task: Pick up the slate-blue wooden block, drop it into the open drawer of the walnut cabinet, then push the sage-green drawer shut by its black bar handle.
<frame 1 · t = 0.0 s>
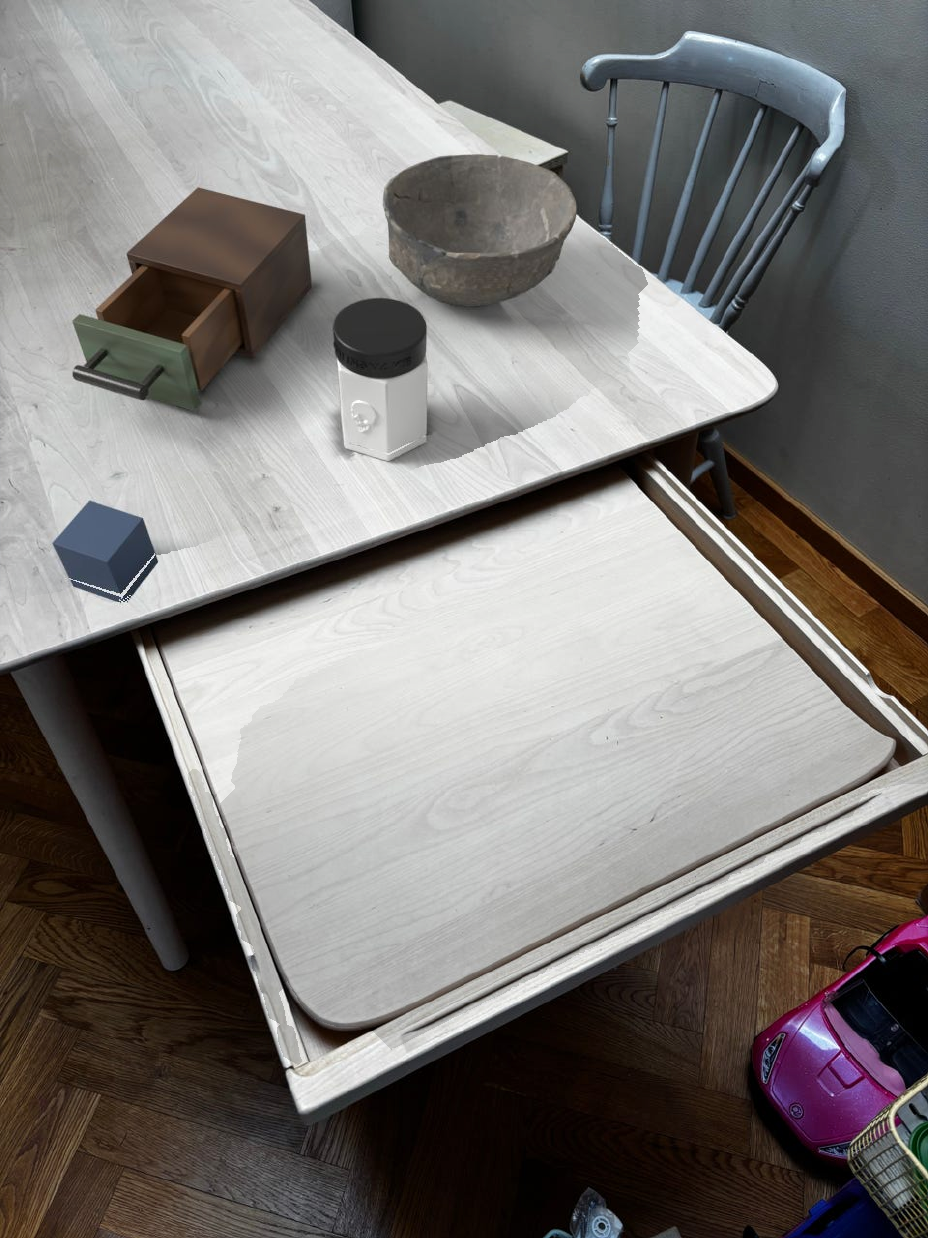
drawer: (158, 341, 88), point 4 cm above the table, slide at 9.0 cm
cabinet: (231, 307, 99), on the table
block: (116, 574, 76), on the table
jar: (383, 431, 88), on the table
bowl: (474, 285, 103), on the table
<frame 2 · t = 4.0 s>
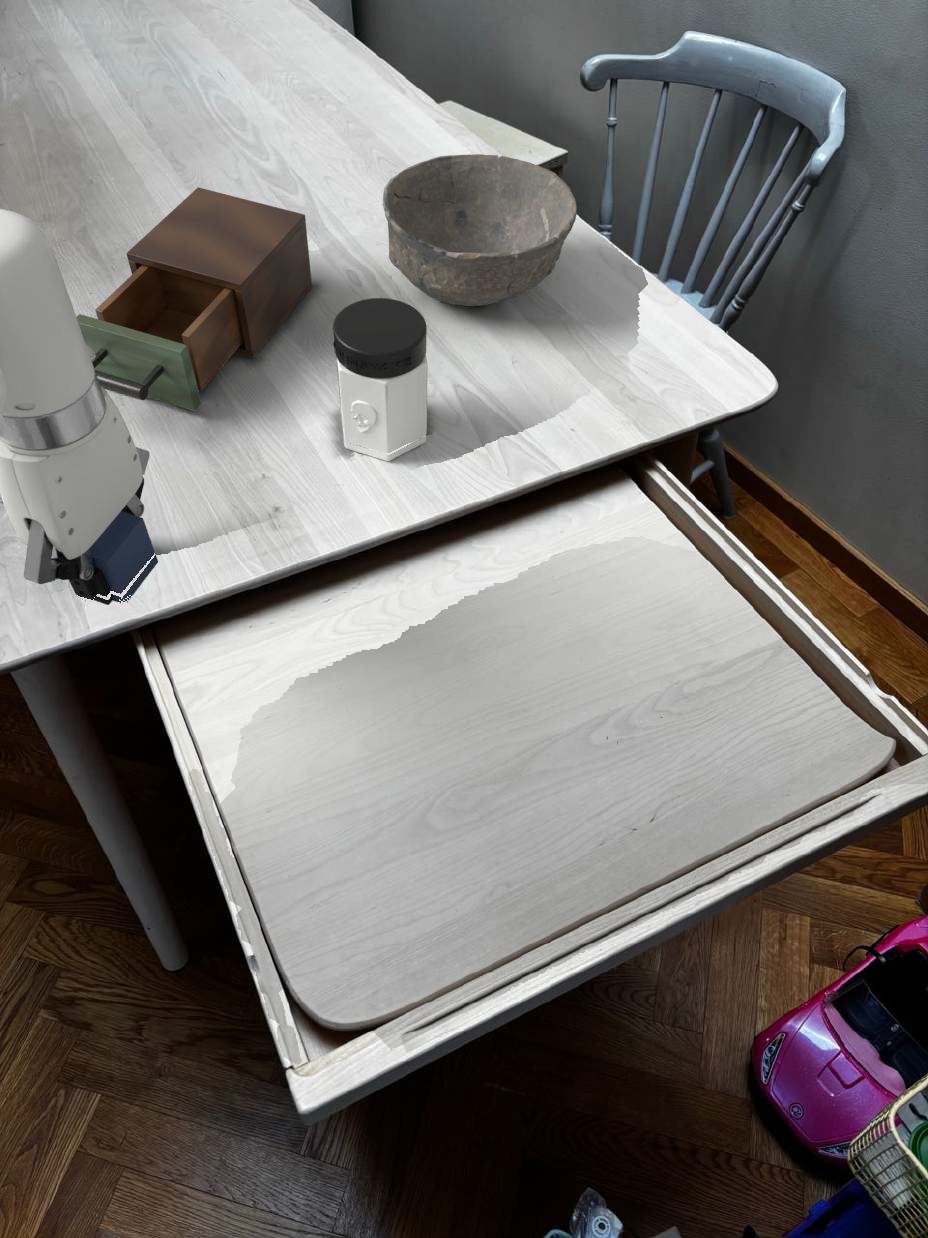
hand: (115, 570, 76), 0 cm above the table, tool pointing down, fingers closed on block, 5 cm apart
block: (116, 574, 76), on the table, touching gripper
everything else where it was.
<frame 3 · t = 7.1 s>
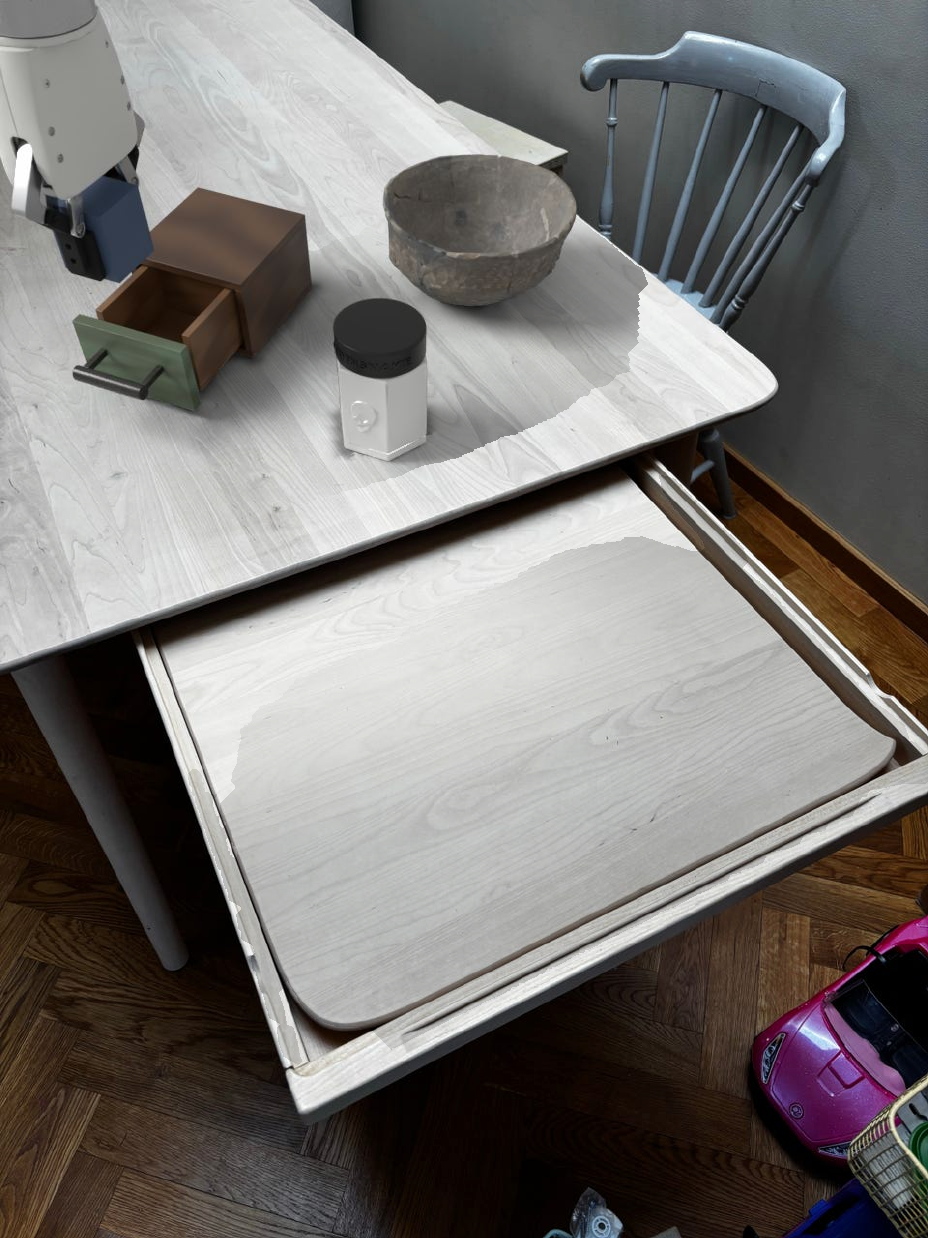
hand: (108, 253, 73), 18 cm above the table, tool pointing down, fingers closed on block, 5 cm apart
block: (110, 259, 73), point 17 cm above the table, touching gripper
everything else where it was.
when the fingers open (7 cm above the table, at t = 10.4 s): block drops 5 cm, resting on drawer.
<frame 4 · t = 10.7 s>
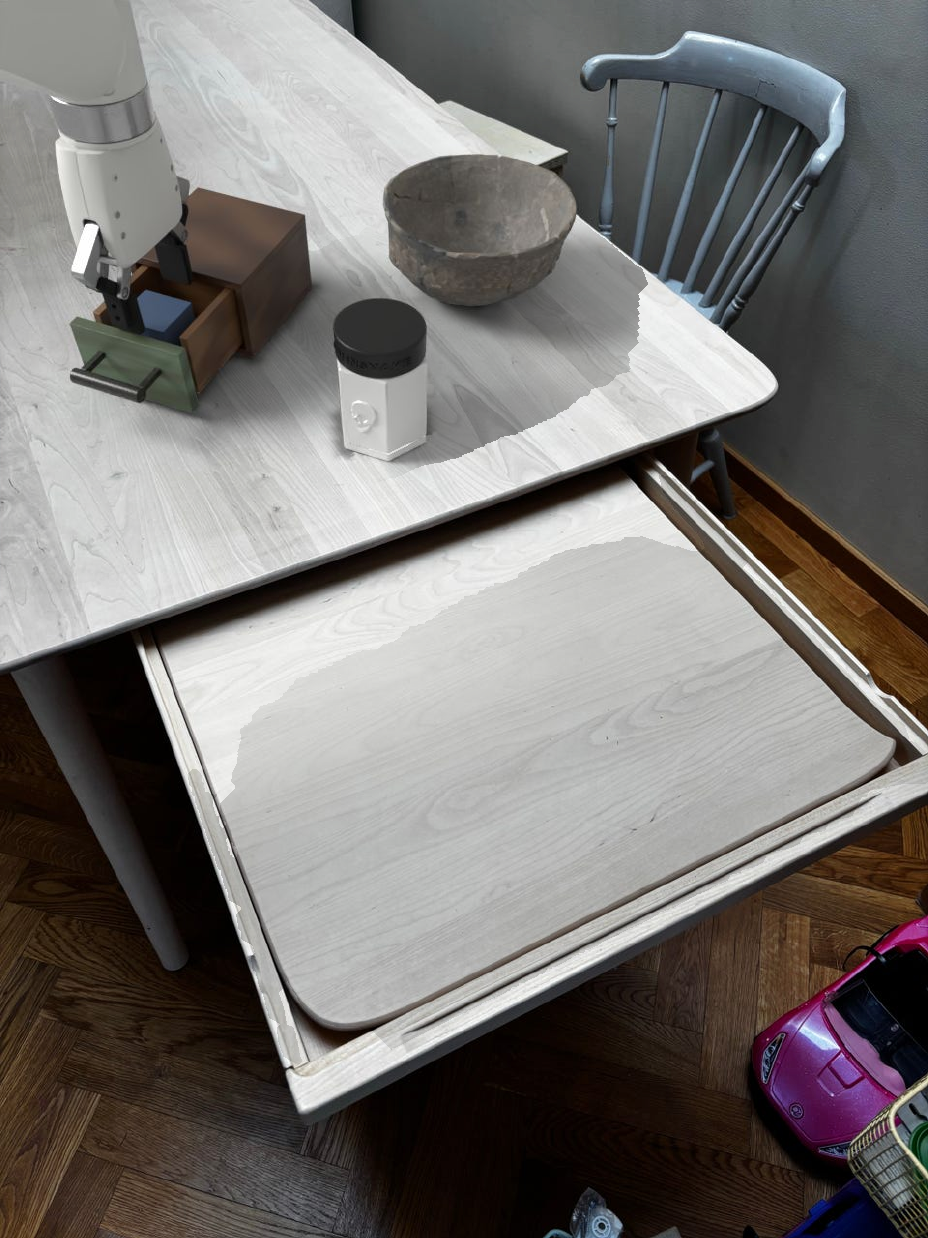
hand: (154, 303, 85), 8 cm above the table, tool pointing down, fingers open, 7 cm apart
drawer: (156, 344, 88), point 4 cm above the table, slide at 9.4 cm, touching block
block: (167, 358, 90), point 2 cm above the table, touching drawer
everything else where it was.
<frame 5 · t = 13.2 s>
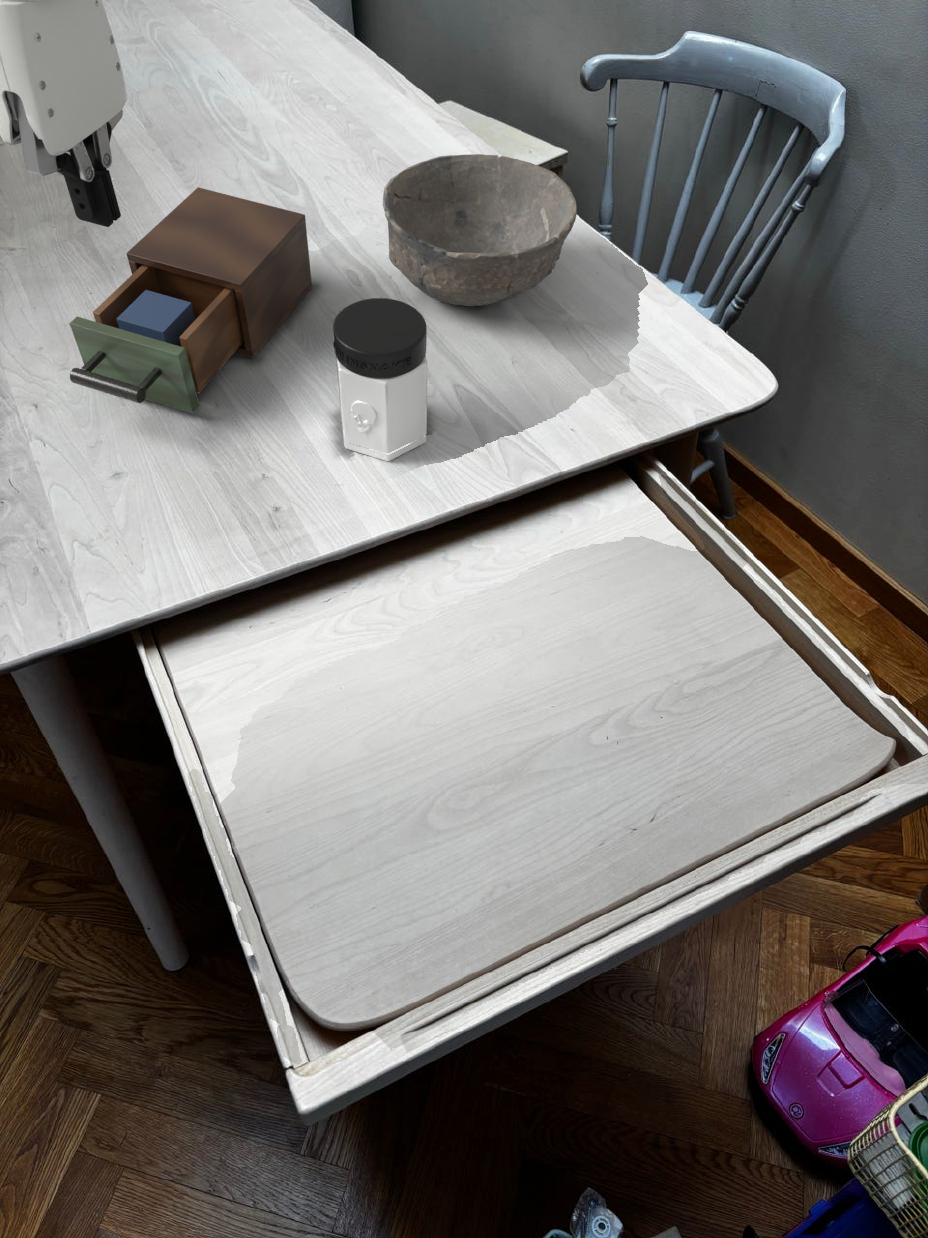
hand: (99, 218, 75), 19 cm above the table, tool pointing down, fingers closed
nothing on the table moved.
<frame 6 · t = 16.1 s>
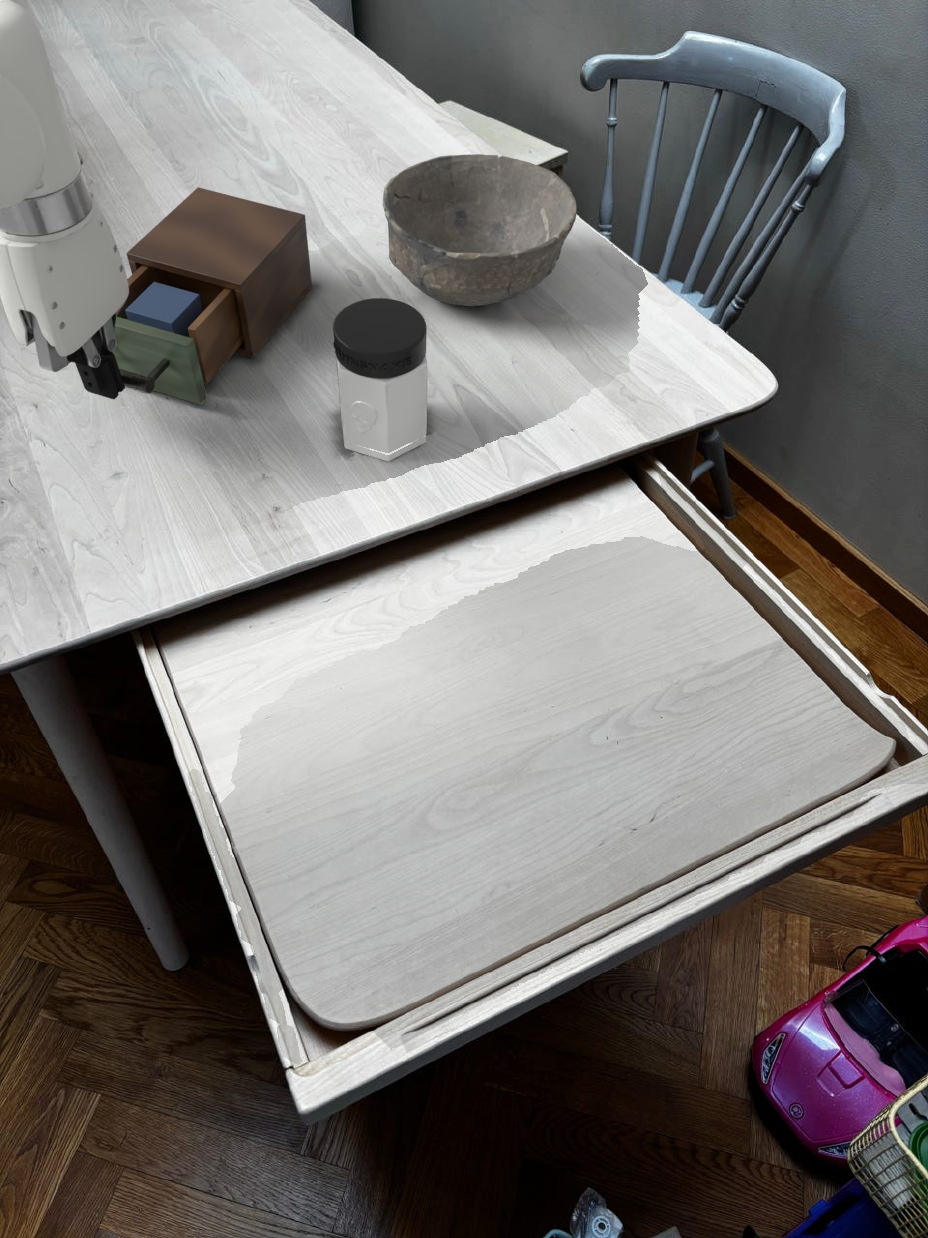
hand: (105, 389, 82), 5 cm above the table, tool pointing down, fingers closed
drawer: (164, 335, 88), point 4 cm above the table, slide at 7.9 cm, touching block, gripper
block: (174, 349, 91), point 2 cm above the table, touching drawer
everything else where it was.
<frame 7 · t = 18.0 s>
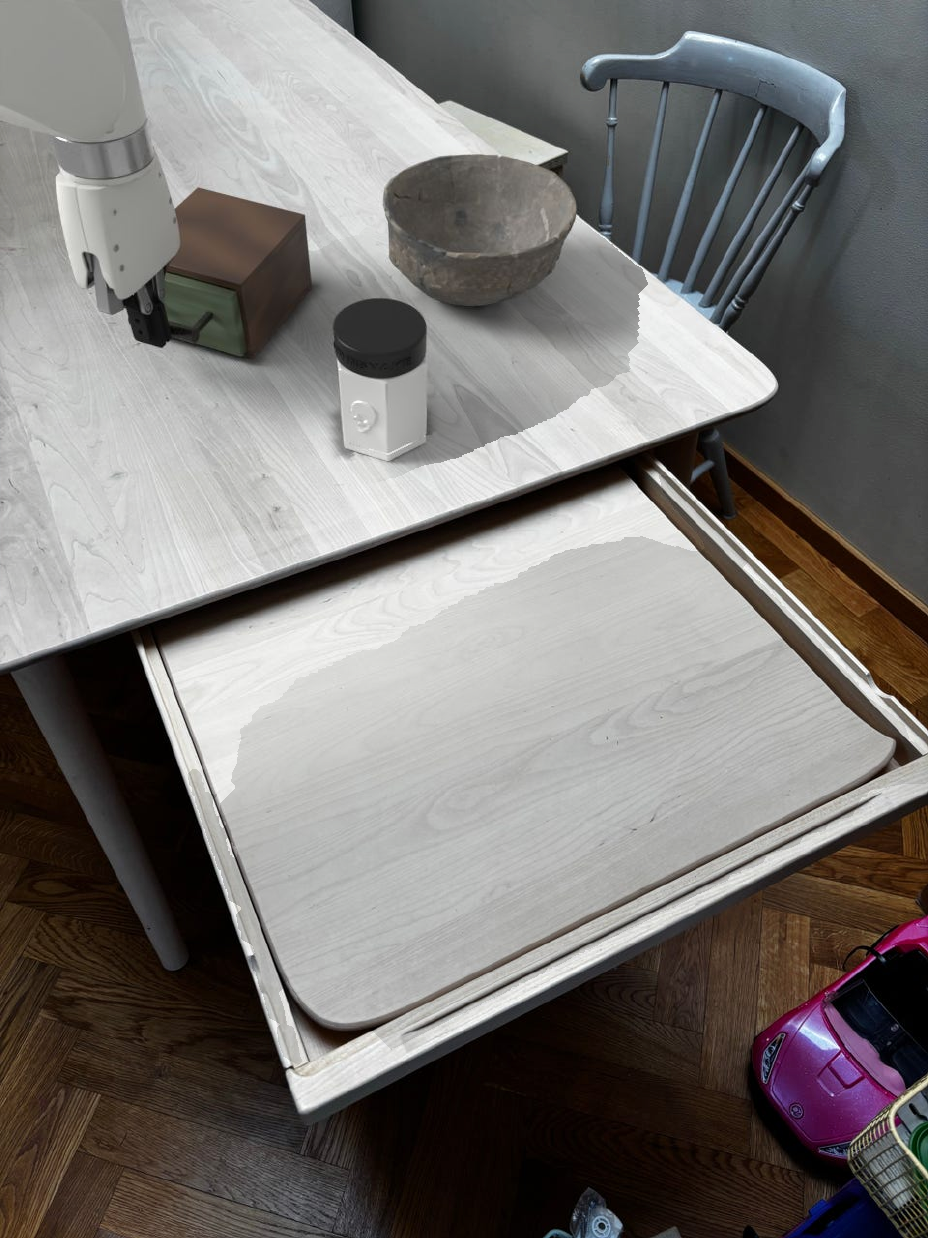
hand: (153, 339, 87), 5 cm above the table, tool pointing down, fingers closed
drawer: (206, 291, 93), point 4 cm above the table, slide at 0.0 cm, touching block, cabinet, gripper
block: (215, 306, 95), point 2 cm above the table, touching drawer
everything else where it was.
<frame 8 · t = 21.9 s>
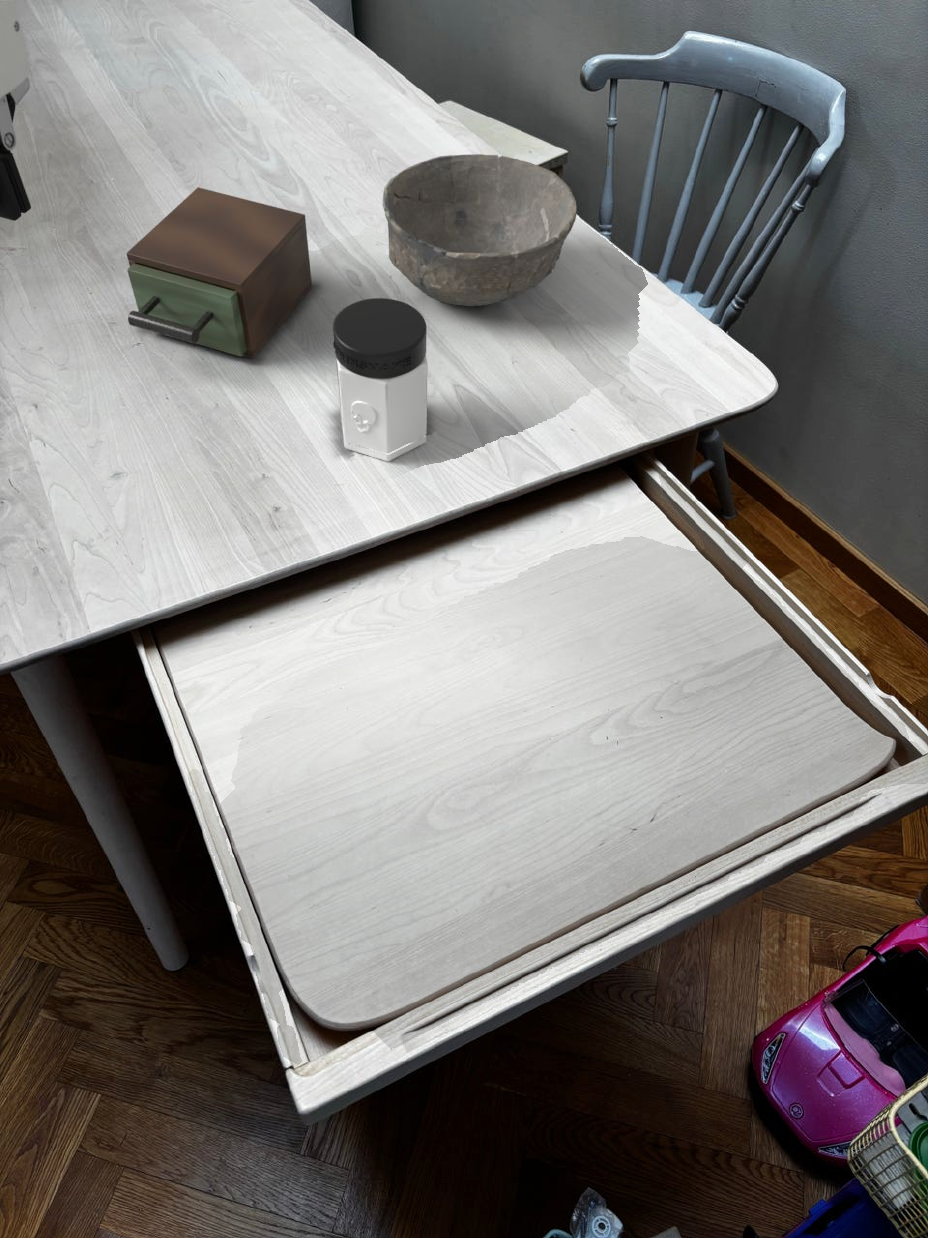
hand: (5, 210, 63), 25 cm above the table, tool pointing down, fingers closed
drawer: (206, 291, 93), point 4 cm above the table, slide at 0.0 cm, touching block, cabinet
everything else where it was.
at the end: block inside the target area in the cabinet (2.9 cm from its centre), point 2.0 cm above the cabinet's base; drawer slide at 0.0 cm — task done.
